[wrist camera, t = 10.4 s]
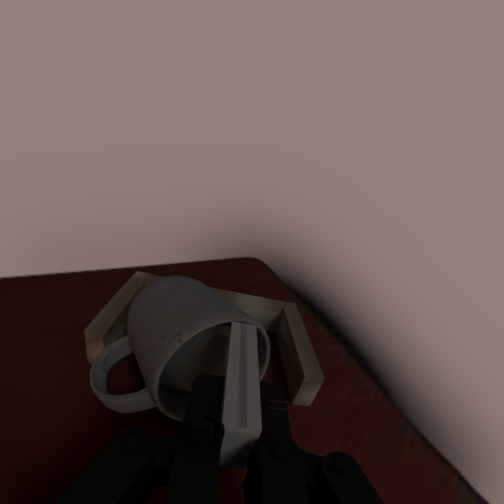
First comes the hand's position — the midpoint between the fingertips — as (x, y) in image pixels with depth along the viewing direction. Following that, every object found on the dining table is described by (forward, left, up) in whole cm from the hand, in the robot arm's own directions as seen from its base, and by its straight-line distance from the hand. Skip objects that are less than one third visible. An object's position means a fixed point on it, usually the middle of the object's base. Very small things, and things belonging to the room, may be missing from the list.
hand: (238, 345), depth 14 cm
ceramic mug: (-4, +2, -7) cm, 8 cm away
